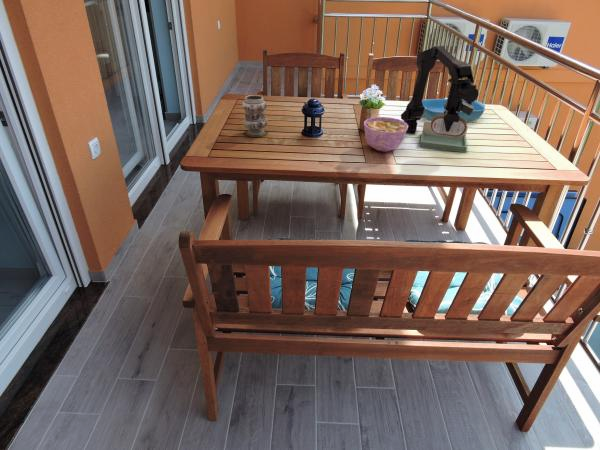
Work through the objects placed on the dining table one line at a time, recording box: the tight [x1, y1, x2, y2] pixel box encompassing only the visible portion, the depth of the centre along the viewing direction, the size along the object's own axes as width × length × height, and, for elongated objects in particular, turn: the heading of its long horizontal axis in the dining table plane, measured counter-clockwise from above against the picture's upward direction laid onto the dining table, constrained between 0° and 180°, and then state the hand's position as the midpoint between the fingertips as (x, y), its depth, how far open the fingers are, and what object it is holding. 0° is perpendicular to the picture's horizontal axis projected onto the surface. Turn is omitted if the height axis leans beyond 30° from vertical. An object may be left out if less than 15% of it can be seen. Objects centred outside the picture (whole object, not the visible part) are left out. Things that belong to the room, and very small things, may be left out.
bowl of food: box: [363, 116, 408, 153], centre depth 192 cm, size 20×20×12 cm
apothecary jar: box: [241, 94, 269, 138], centre depth 203 cm, size 12×12×18 cm
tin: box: [430, 115, 468, 137], centre depth 183 cm, size 15×3×8 cm, turn 72°
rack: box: [419, 120, 469, 153], centre depth 200 cm, size 21×16×8 cm
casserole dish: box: [422, 98, 486, 122], centre depth 232 cm, size 37×22×7 cm, turn 97°
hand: (447, 130), depth 185 cm, fingers closed on tin, 2 cm apart
